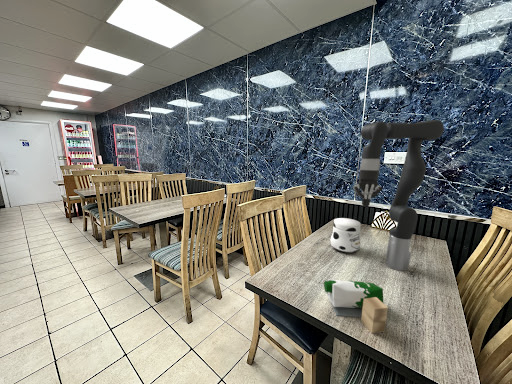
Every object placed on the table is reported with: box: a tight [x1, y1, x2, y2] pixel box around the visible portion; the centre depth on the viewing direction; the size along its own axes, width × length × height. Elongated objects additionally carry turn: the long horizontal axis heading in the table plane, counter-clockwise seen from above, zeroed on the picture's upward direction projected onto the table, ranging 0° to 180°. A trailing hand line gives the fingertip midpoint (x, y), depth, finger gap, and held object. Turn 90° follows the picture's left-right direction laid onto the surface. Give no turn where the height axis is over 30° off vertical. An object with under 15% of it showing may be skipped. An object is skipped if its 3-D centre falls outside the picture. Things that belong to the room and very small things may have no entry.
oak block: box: [360, 297, 389, 334], centre depth 68 cm, size 5×5×9 cm
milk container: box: [330, 217, 362, 254], centre depth 125 cm, size 17×17×18 cm
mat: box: [326, 292, 363, 318], centre depth 79 cm, size 16×15×1 cm
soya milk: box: [323, 279, 385, 308], centre depth 77 cm, size 9×9×20 cm
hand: (365, 206), depth 92 cm, fingers closed
